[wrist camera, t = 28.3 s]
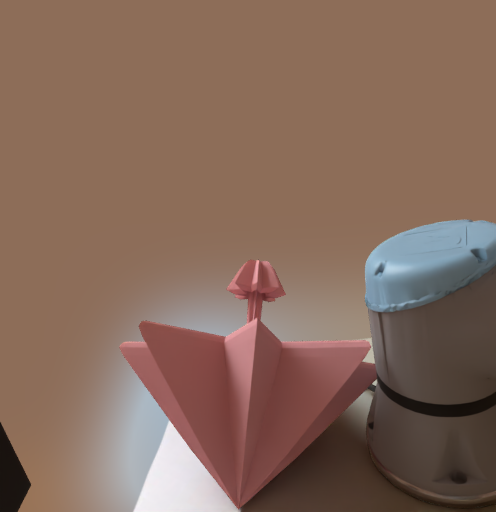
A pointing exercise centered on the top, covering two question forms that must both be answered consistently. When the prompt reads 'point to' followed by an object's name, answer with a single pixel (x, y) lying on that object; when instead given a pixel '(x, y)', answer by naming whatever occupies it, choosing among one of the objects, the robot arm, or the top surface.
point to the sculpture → (248, 387)
